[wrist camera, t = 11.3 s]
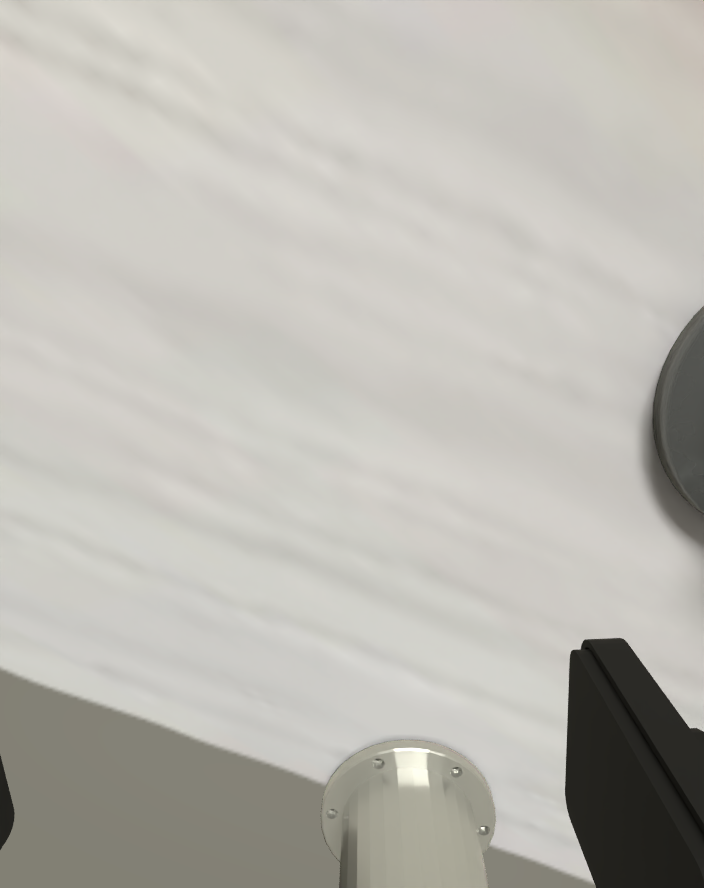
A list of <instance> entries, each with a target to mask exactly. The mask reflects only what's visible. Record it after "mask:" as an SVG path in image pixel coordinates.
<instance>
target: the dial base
mask: <svg viewBox="0 0 704 888" xmlns="http://www.w3.org/2000/svg"><path fill="white" fill-rule="evenodd" d="M653 427H654V438H655V443H656V447H657V451H658V455H659V458H660V460H661V463H662V465H663V467H664V470H665V472H666V474H667V475H668V477H669V479H670V480H671V482H672V484H673V485H674V486H675V488H676V489H677V490H678V491H679V493H680V494H681V495H682V496H683V497H684V498H685V499H686V500H687V501H688V502H689V503H690V504H691V505H693V506H694V507H695V508H696V509H698V510H699V511H700V512H702V513H703V514H704V306H703V307H702V308H701V309H700V310H699V311H698V312H697V313H696V314H695V315H694V317H693V318H692V319H691V321H690V322H689V323H688V324H687V326H686V327H685V328H684V330H683V331H682V332H681V334H680V335H679V337H678V339H677V340H676V342H675V344H674V345H673V347H672V349H671V350H670V353H669V355H668V357H667V359H666V361H665V364H664V366H663V368H662V372H661V375H660V378H659V381H658V384H657V389H656V394H655V400H654V411H653Z"/></svg>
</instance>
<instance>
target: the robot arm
mask: <svg viewBox="0 0 704 888" xmlns="http://www.w3.org/2000/svg"><path fill="white" fill-rule="evenodd" d="M565 796H566V804H567V809H568V813H569V817H570V820H571V823H572V825H573V828H574V831H575V833H576V836H577V838H578V841H579V844H580V846H581V849H582V851H583V854H584V857H585V859H586V862H587V865H588V867H589V870H590V872H591V875H592V878H593V880H594V883H595V885H596V888H704V732H703V731H701V730H699V729H697V728H691V729H690V728H689V727H688V726H687V724H686V723H685V721H684V720H683V719H682V717H681V716H680V715H679V713H678V712H677V710H676V709H675V708H674V706H673V705H672V704H671V702H670V701H669V699H668V698H667V697H666V695H665V694H664V693H663V691H662V690H661V688H660V687H659V686H658V684H657V683H656V682H655V680H654V679H653V677H652V676H651V675H650V673H649V672H648V671H647V669H646V668H645V666H644V665H643V664H642V662H641V661H640V660H639V658H638V657H637V656H636V654H635V653H634V651H633V650H632V649H631V647H630V646H629V645H628V643H627V642H626V641H625V640H624V639H621V638H612V639H588V640H584V641H583V643H582V646H581V650H573V651H571V654H570V669H569V697H568V726H567V754H566V782H565ZM13 822H14V807H13V804H12V799H11V795H10V792H9V788H8V784H7V780H6V776H5V772H4V768H3V764H2V760H1V756H0V850H1V848H2V846H3V845H4V843H5V842H6V840H7V838H8V837H9V835H10V832H11V830H12V827H13ZM495 823H496V816H495V806H494V802H493V798H492V794H491V791H490V788H489V786H488V784H487V782H486V780H485V778H484V777H483V775H482V774H481V773H480V771H479V770H478V769H477V767H476V766H474V765H473V764H472V763H471V762H470V761H469V760H468V759H466V758H465V757H464V756H462V755H460V754H459V753H457V752H455V751H454V750H452V749H449V748H447V747H444V746H441V745H439V744H436V743H431V742H426V741H421V740H397V741H389V742H384V743H381V744H377V745H374V746H371V747H368V748H366V749H364V750H362V751H360V752H358V753H356V754H355V755H353V756H352V757H351V758H349V759H348V760H347V761H345V762H344V763H343V764H342V765H341V766H340V767H339V768H338V769H337V771H336V772H335V773H334V774H333V776H332V777H331V779H330V781H329V783H328V784H327V786H326V789H325V792H324V796H323V799H322V808H321V828H322V832H323V835H324V839H325V842H326V843H327V845H328V847H329V848H330V851H331V852H332V854H333V855H334V856H335V857H336V859H337V860H338V861H339V862H340V882H339V888H489V885H488V880H487V875H486V870H485V865H484V860H483V854H484V852H485V851H486V849H487V848H488V847H489V844H490V842H491V839H492V837H493V835H494V829H495Z"/></svg>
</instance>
